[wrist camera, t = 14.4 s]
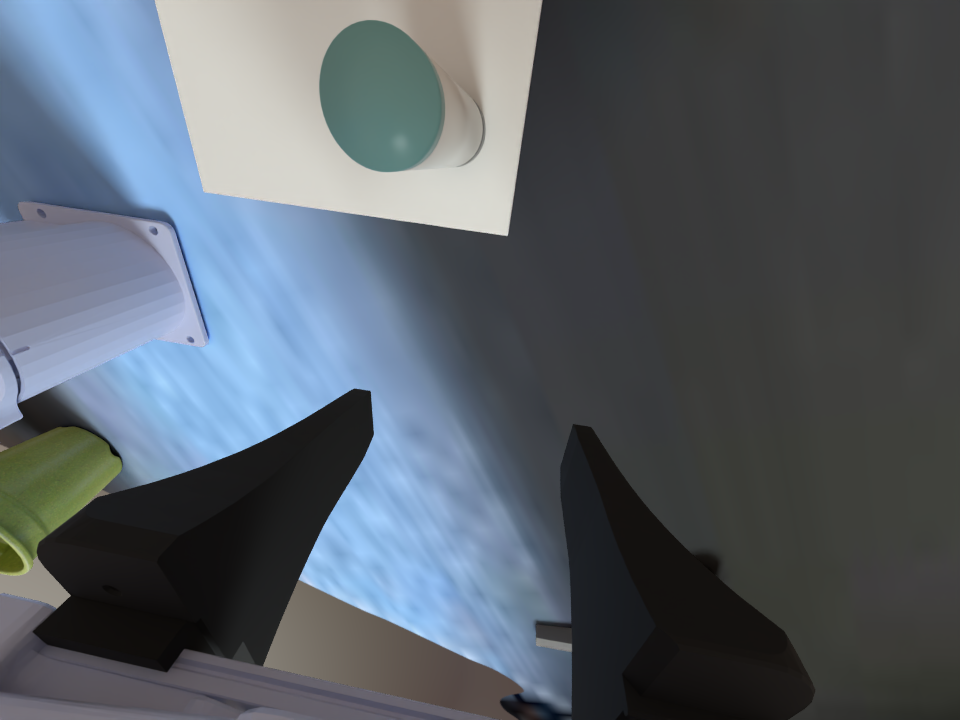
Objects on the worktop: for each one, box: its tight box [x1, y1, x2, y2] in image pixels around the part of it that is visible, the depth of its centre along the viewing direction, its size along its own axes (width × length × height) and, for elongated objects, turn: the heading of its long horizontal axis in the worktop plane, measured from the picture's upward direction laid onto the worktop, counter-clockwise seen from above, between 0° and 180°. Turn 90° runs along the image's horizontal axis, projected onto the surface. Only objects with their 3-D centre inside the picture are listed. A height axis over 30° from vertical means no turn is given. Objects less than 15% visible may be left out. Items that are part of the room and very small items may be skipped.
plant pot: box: [0, 426, 122, 575], centre depth 28 cm, size 9×9×9 cm
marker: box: [319, 20, 486, 172], centre depth 12 cm, size 3×3×9 cm
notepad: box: [155, 0, 543, 236], centre depth 15 cm, size 16×12×1 cm
